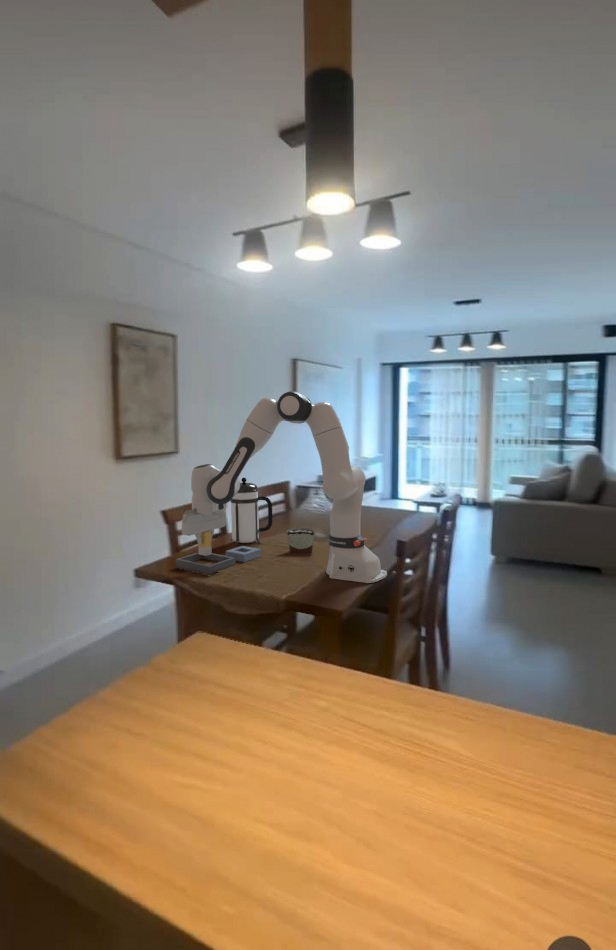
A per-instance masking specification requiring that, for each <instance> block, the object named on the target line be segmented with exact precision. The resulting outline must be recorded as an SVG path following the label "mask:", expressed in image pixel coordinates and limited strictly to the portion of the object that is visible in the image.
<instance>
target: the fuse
mask: <svg viewBox="0 0 616 950" xmlns="http://www.w3.org/2000/svg"><path fill="white" fill-rule="evenodd" d="M201 538H202V539H203V540H204V541H203V542H204V543H203V544H198V543H197V544H198V545H197V547H198V550H197V551H198V552H197V553H199V554H200V555H204V556H207V555H210V554H212V553H213V552H212V541H211V531H206V532H202V533H201Z"/></svg>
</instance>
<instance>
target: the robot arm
mask: <svg viewBox="0 0 616 950" xmlns="http://www.w3.org/2000/svg"><path fill="white" fill-rule="evenodd" d="M284 421H285V422H289V423H292V424H303V423H306V424H307V425H308V427H309V429H310V431H311V435H312V437H313V440H314V443H315V446H316V449H317V452H318V455H319V459H320V464H321V471H322V472H321V473H322V479H323V480H322V481H323V483H322V490H323V493H324V494H325V495H326V496H327V498H329V499H331V500H333V501H332V502H333V503H332V507H331V510H330V514H329V530H330V531H329V534H328V546H329V555H328V562H327V566H326V571H325V572H326V574H327V575H328V576H329V578H330V579H331V580H332V579H333V580H340V581H349V582H350V581H351V582H355V583H356V582H357V583H364V584H370V583H377V582H379V581H381V580H383V579H384V578H386V577H387V576H388V572H387V570H384V569H382V567H381V566H382V565H381V561H380V559H379V557H378V556H377V555H376V554H375V553H374V552H373V551H372V550H370V549H369V548H368V547H367V546H366V545H365V544H366V543H365V542H366V541H367V537H363V536H362V534H361V514H362V513H361V512H362V505H363V498H364V489H365V485H366V475H365V473H364V471H363V470H362V468H360V467H357V466H354V465H351V461H350V452H349V451H350V446H349V443H348V440H347V438H346V435H345V432H344V429H343V426H342V423H341V421H340V418H339V417H338V414H337V412H336V411H335V409H334V407H333V405H332V404H331V403H329V402H326V401H321V402H320V401H319V402H315V403H312V401H311V400H310V398H308V397H307V396H306V395H305V394H304V393H303V394H302V393H301V392H297V391H294V390H292V391H291V390H290V391H287V392H285V393H283V394H281V396H279V398H278V400H276V399H274V398H271V397H263V398H261V399H260V400H259V401H258V402H257V404H255V406H254V407H253V409H252V410H251V411H250V413H249V415H248V416H247V418H246V420H245V422H244V424H243V426H242V428H241V431H240V433H239V436H238V438H237V441H236V443H235V446H234V448H233V450H232V452H231V454H230V456H229V458H228V459H227V461H226V463H225V464H224V466H223V467H222V469H219V468H218V467H216V466H214V465H213V464H210V463H205V464H200V465H197V466H195V467H194V468H193V469H192V471H191V478H190V480H191V481H190V483H191V491H192V497H191V509H190V510H189V509H187V510H185V512H184V513H183V514H182V518H181V519H182V520H181V534H182V535H184V536H195V538H196V541H197V544H203V543H204V542H203V541H204V540H203V539H202V538H201V533H202V532H206V531H211V542H212V541H213V535H214V534H215V530H216V529H220V528H224V527H225V526H226V524H227V514H226V513H227V512H226V510H225V509H226V504H228V503H229V502H230V500H231V499H232V498H233V497H234V496H235V495H236V494H237V492H238V491H239V489H240V483H241V481H240V479H239V476H241V474H242V471H243V470H244V468H245V467H246V465H247V463H248V462H249V461H250V459H251V458H252V457H253V456H255V455H256V454H257V453H258V452H260V451H261V450H262V449H263V448H264V447H266V445H267V443H268V442H269V440H270V439H271V438H272V436H273V434H274V432H275V431H276V429H277V428H278V426H279V424H280V423H282V422H284Z"/></svg>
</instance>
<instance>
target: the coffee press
mask: <svg viewBox="0 0 616 950" xmlns="http://www.w3.org/2000/svg"><path fill="white" fill-rule="evenodd" d="M259 490H260V489H259V487H258V486H257V485H256V484H255V483H253V482H247V478H246V477H242V478H241V482H240V489H239V491H238V492H237V494H236V495H235V496H234V497H233V498H232V499H231V500H230V501H229V502H230V509H231V510H230V513H231V514H230V515H231V539H230V541H231V543H235V544H234V546H238V545H241V544H250V543H255V544H256V545H261V542H260V540H259V537H260V536H259V535H260V532H266V531H269V530H270V529H271V527H272V526H273V503H272V500H270V498H269V497H267V496H263V495H261V496H259ZM259 501H264V502H266V503H267V515H268V516H267V520H268V522H267V524H266V526H264V527H259V526H260V525H259Z"/></svg>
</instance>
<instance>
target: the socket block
mask: <svg viewBox="0 0 616 950" xmlns="http://www.w3.org/2000/svg"><path fill="white" fill-rule="evenodd" d="M225 556H229V557H233V558H236V561H237V562H241V563H246V562H250V561H252V560H255V559H258V558H261V557H262V549H261V548H257V547H252V546H245V545H241V546H238V547H237V546H236V547H234V548H231V549H228V550H225Z"/></svg>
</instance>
